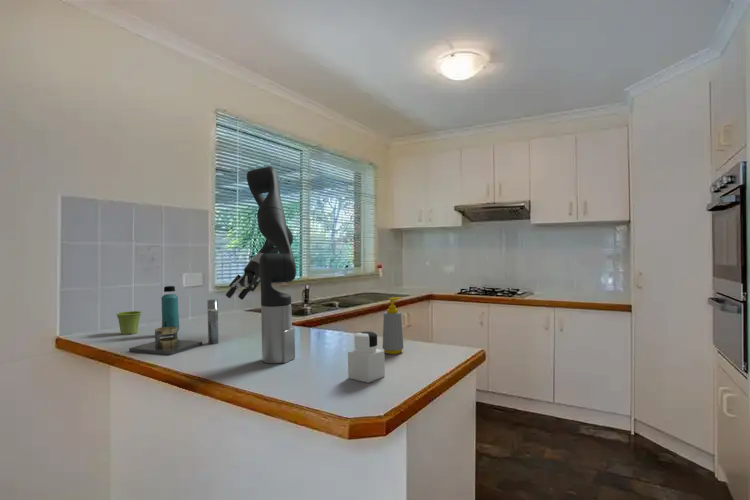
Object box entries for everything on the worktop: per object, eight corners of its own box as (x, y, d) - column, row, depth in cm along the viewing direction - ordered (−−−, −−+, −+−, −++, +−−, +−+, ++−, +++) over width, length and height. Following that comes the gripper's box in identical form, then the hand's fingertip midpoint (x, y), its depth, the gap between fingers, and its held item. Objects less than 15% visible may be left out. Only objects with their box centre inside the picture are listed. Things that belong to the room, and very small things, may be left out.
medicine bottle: (365, 371, 120) (364, 329, 120) (385, 376, 115) (384, 331, 115) (347, 378, 114) (346, 333, 114) (368, 383, 110) (367, 336, 110)
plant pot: (147, 331, 185) (146, 311, 184) (131, 335, 175) (131, 314, 175) (127, 331, 186) (126, 311, 186) (111, 335, 176) (110, 314, 176)
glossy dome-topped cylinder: (220, 342, 160) (220, 299, 160) (214, 344, 157) (213, 300, 157) (212, 341, 161) (211, 299, 161) (205, 344, 158) (204, 300, 158)
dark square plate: (202, 344, 156) (201, 325, 156) (170, 355, 142) (169, 334, 142) (163, 342, 162) (163, 323, 162) (129, 351, 148) (128, 331, 148)
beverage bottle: (182, 333, 179) (181, 285, 179) (173, 336, 172) (172, 286, 172) (167, 333, 179) (166, 285, 179) (158, 336, 173) (157, 286, 173)
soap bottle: (407, 353, 140) (406, 298, 139) (387, 355, 137) (386, 299, 137) (398, 348, 146) (397, 295, 146) (379, 350, 143) (378, 297, 143)
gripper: (242, 259, 177) (217, 290, 168) (263, 260, 168) (238, 292, 159) (253, 272, 181) (229, 302, 172) (274, 273, 172) (250, 304, 163)
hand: (233, 297), depth 166 cm, fingers open, 8 cm apart
